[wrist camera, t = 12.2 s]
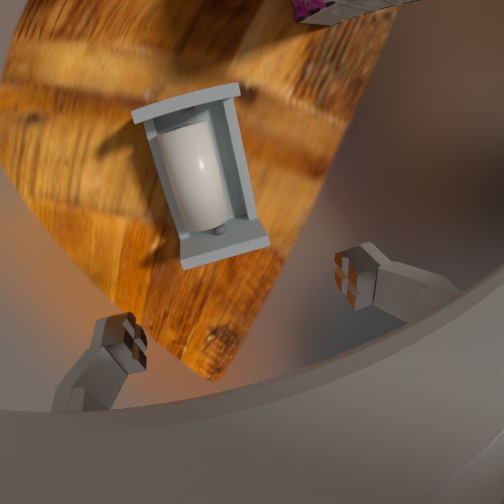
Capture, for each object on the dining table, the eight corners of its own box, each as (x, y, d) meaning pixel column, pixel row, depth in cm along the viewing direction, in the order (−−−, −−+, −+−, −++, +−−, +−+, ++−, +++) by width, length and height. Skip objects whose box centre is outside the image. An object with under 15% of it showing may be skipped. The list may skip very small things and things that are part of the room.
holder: (143, 109, 24) (130, 111, 19) (226, 87, 25) (237, 82, 19) (183, 238, 33) (183, 270, 27) (254, 218, 34) (270, 245, 28)
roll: (170, 128, 26) (146, 139, 22) (214, 117, 25) (196, 125, 21) (194, 211, 31) (177, 233, 27) (235, 206, 30) (223, 229, 26)
